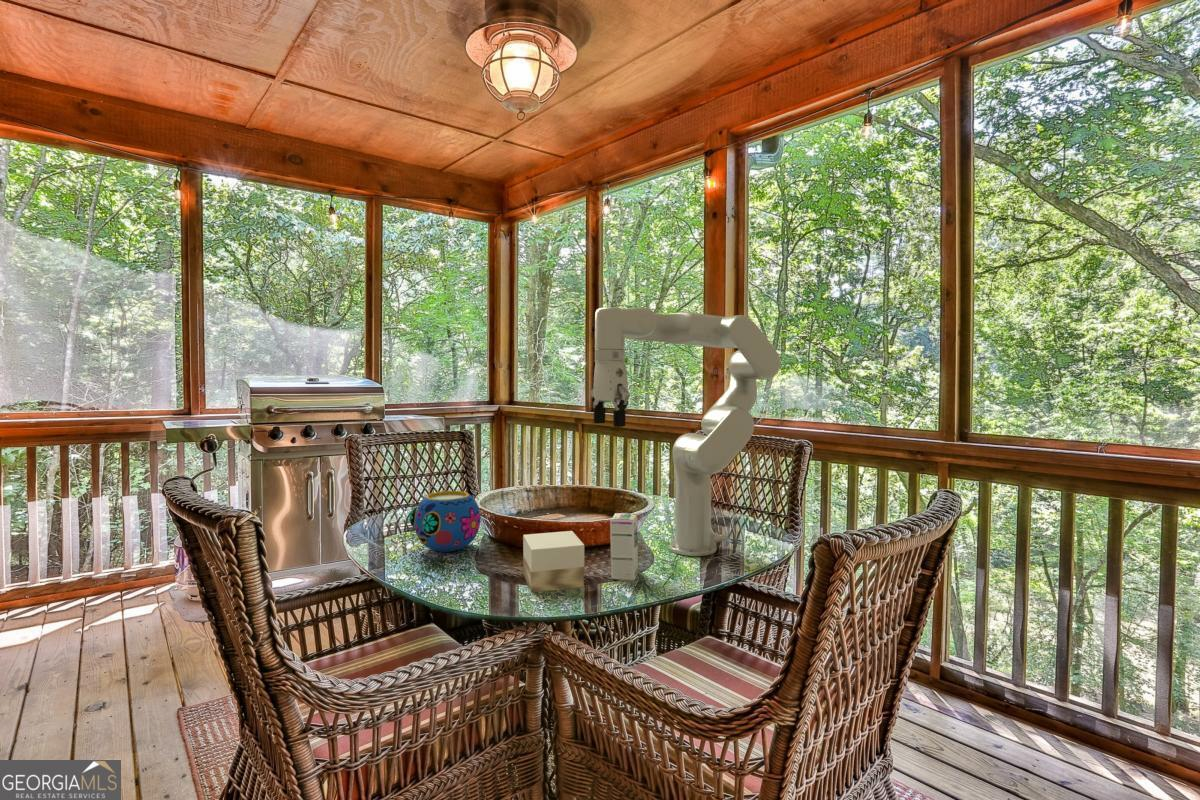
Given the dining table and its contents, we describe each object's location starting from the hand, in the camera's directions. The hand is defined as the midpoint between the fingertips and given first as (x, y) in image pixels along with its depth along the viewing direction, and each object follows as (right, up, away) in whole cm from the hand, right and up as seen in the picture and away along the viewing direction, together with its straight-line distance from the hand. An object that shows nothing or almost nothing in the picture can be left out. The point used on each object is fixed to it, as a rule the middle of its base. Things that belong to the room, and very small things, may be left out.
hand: (609, 424), depth 150 cm
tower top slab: (-13, -31, -12) cm, 36 cm away
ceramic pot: (-44, -35, +12) cm, 57 cm away
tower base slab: (-13, -36, -12) cm, 40 cm away
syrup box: (+4, -36, -9) cm, 37 cm away
